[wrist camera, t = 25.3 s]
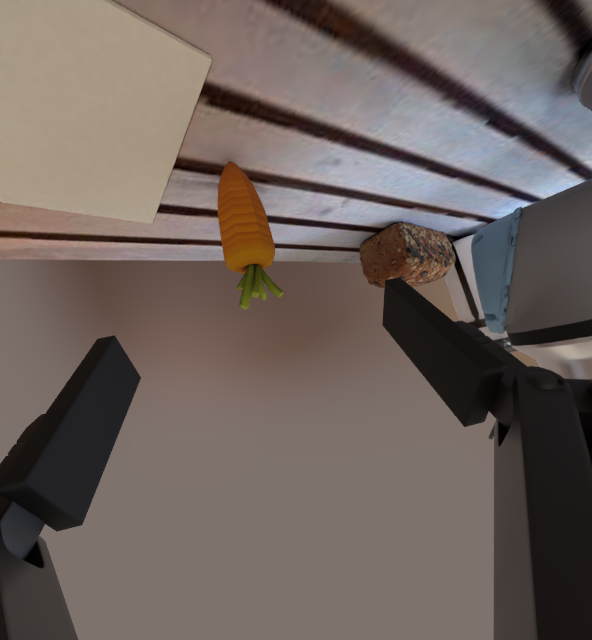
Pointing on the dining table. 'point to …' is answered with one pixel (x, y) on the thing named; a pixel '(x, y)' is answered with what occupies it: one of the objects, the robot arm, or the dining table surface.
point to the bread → (406, 255)
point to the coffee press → (469, 291)
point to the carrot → (245, 234)
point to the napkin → (91, 107)
